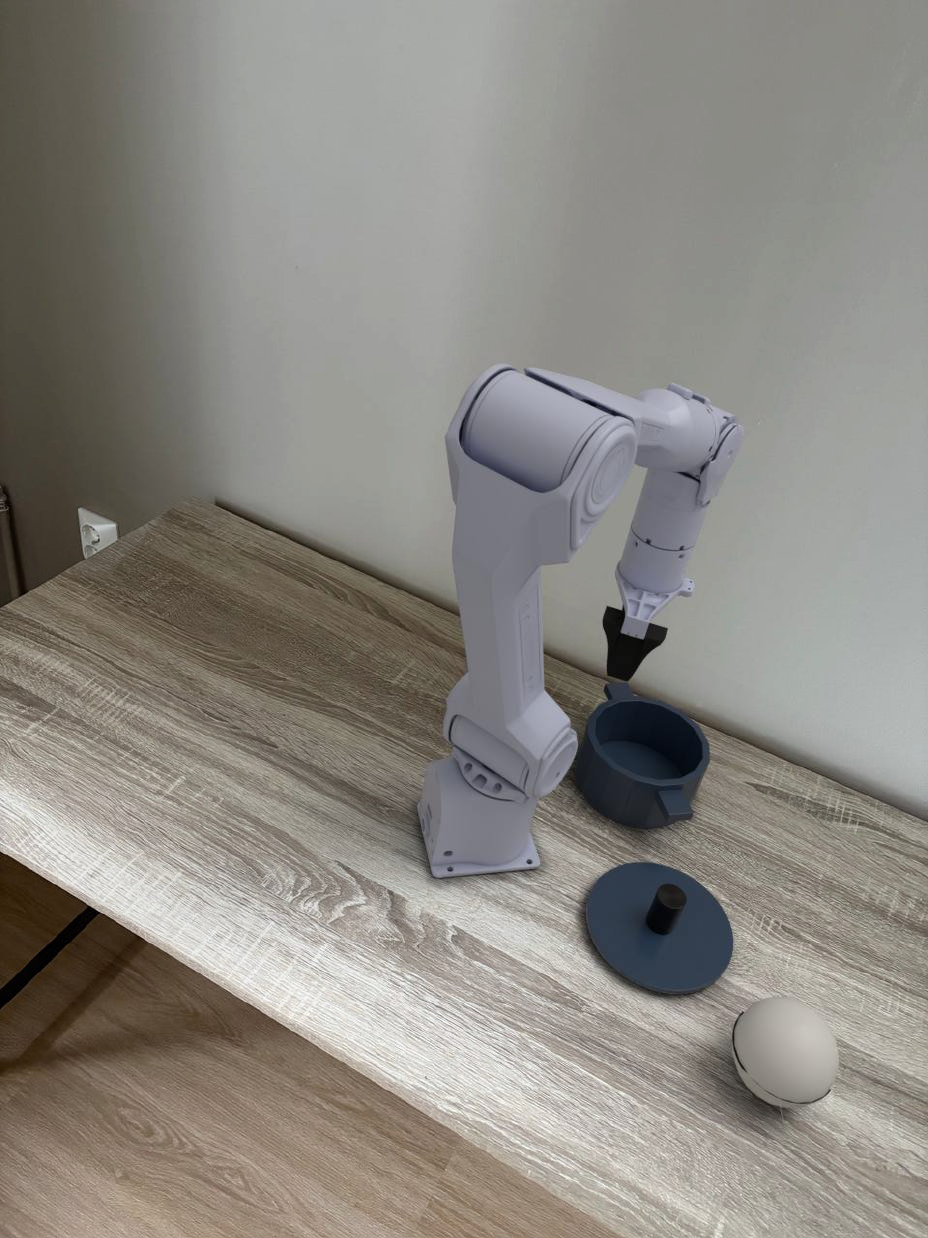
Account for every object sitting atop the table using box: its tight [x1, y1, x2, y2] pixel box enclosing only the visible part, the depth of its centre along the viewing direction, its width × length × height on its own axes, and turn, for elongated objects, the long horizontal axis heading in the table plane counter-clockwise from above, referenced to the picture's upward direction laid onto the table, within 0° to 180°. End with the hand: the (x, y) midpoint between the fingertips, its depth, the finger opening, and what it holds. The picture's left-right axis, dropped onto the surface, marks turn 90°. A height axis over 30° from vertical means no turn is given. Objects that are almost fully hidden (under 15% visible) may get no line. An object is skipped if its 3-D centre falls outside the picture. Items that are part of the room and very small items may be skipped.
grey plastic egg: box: [731, 996, 840, 1140], centre depth 69 cm, size 10×7×7 cm
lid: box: [585, 861, 734, 995], centre depth 80 cm, size 12×12×5 cm
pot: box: [574, 681, 711, 829], centre depth 92 cm, size 11×17×6 cm
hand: (625, 652), depth 93 cm, fingers open, 7 cm apart
